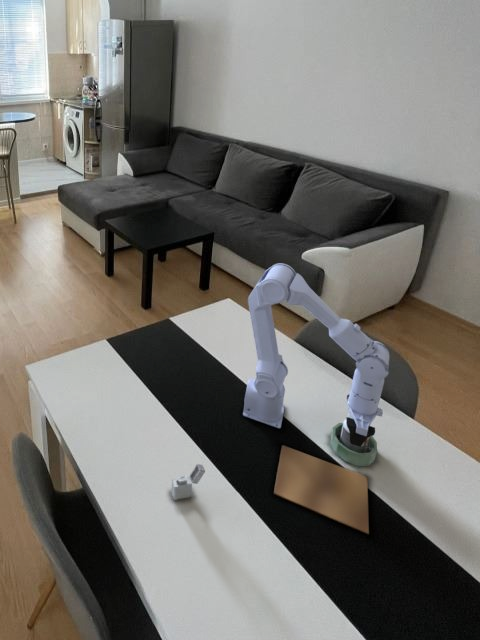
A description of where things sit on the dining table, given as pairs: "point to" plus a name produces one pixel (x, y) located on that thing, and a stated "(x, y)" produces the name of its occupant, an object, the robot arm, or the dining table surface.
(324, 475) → the cork mat
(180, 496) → the lighter
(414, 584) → the dining table surface
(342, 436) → the pill bottle
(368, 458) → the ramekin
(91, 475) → the dining table surface
